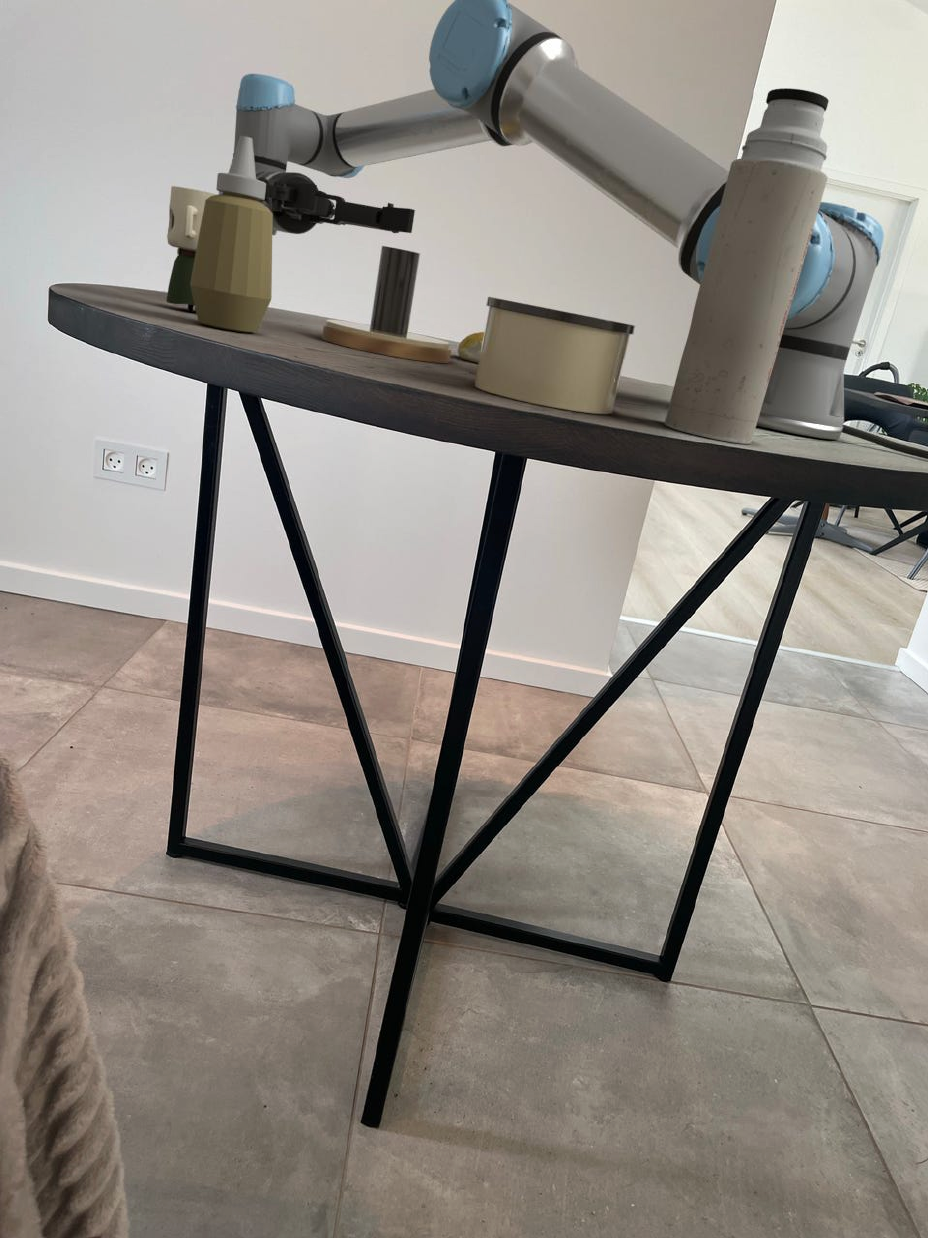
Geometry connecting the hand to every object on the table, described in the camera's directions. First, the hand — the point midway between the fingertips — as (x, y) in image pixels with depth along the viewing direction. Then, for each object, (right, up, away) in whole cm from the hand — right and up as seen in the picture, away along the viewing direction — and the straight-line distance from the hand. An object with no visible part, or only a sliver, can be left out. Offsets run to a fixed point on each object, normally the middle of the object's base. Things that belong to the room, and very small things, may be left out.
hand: (363, 209), depth 111 cm
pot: (+19, -28, -23) cm, 41 cm away
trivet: (+3, -17, -2) cm, 18 cm away
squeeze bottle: (-12, -19, -15) cm, 27 cm away
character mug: (-20, -13, -1) cm, 24 cm away
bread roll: (+15, -16, +9) cm, 24 cm away
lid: (+3, -16, -3) cm, 17 cm away
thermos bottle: (+34, -32, -25) cm, 53 cm away
